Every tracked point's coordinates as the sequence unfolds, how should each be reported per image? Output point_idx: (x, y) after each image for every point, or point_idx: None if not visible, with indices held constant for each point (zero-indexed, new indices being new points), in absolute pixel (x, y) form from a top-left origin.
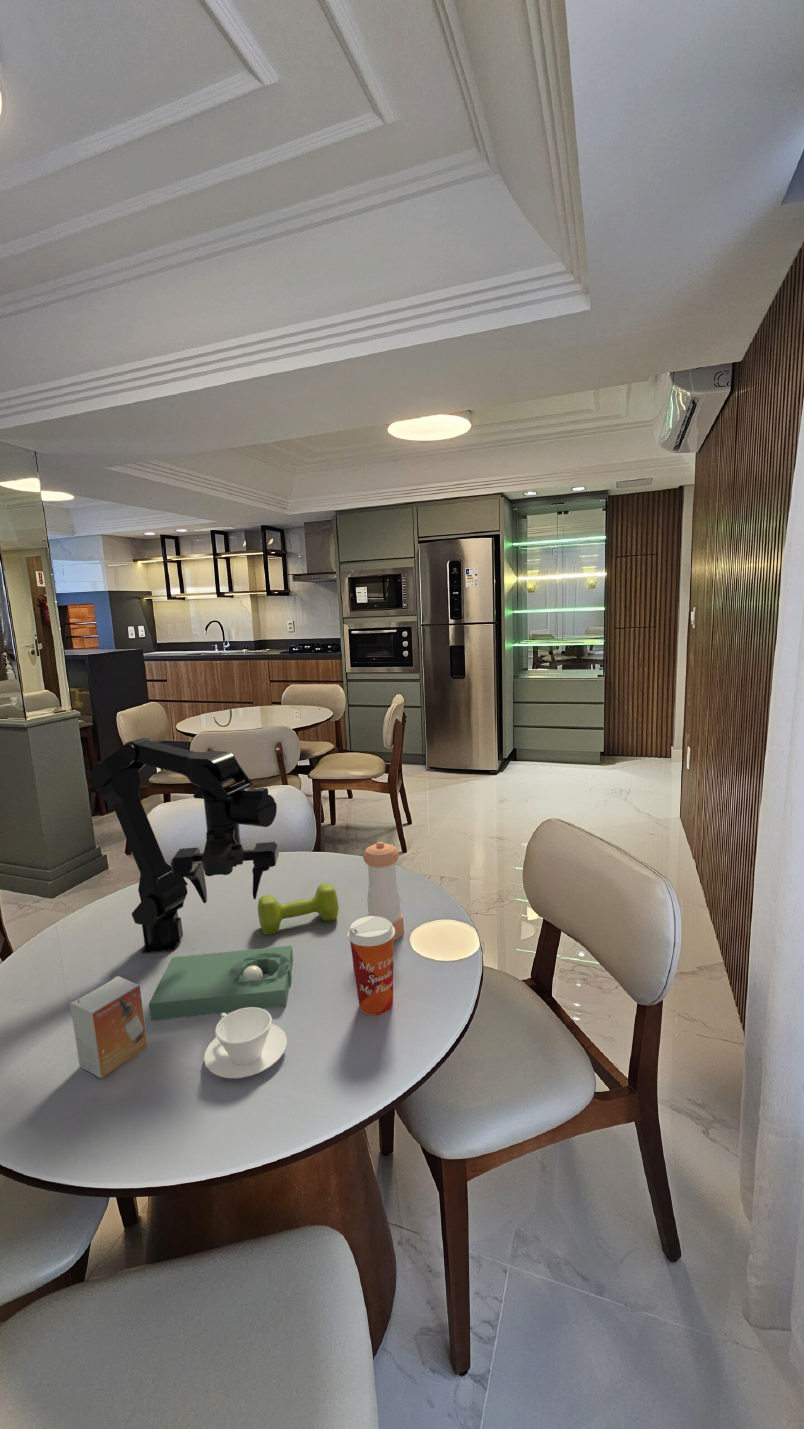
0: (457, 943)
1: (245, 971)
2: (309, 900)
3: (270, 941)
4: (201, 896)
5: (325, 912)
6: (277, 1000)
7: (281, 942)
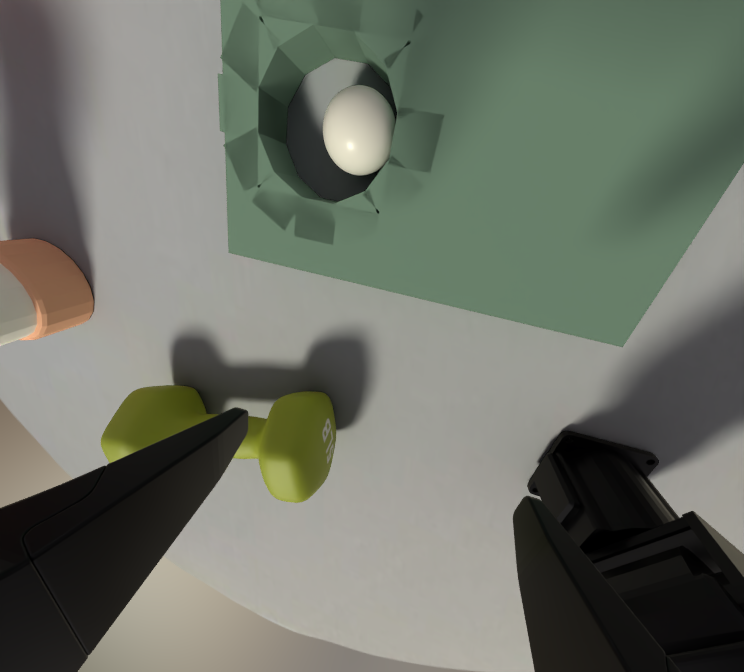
0: None
1: (376, 115)
2: None
3: (317, 364)
4: (575, 551)
5: (164, 392)
6: None
7: (290, 348)
